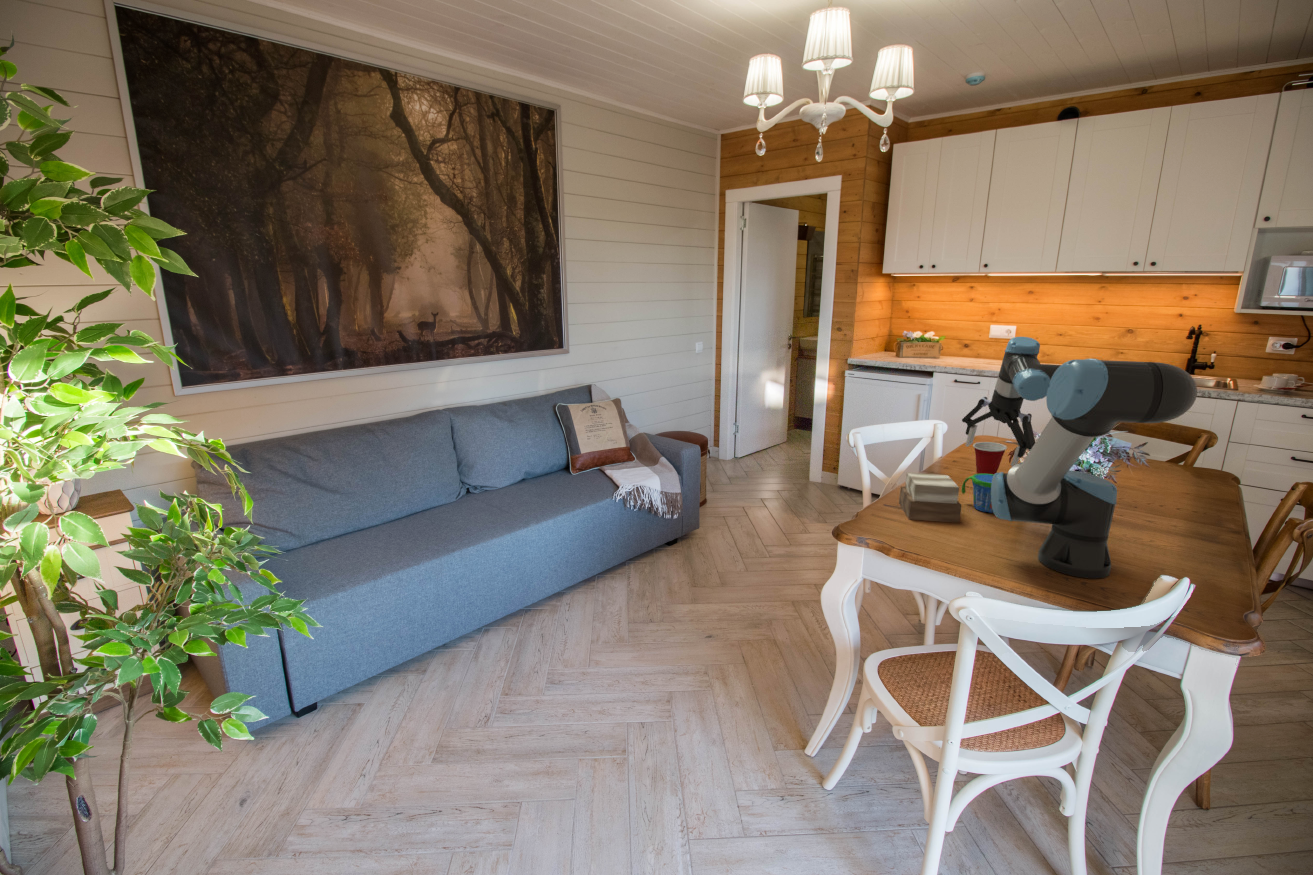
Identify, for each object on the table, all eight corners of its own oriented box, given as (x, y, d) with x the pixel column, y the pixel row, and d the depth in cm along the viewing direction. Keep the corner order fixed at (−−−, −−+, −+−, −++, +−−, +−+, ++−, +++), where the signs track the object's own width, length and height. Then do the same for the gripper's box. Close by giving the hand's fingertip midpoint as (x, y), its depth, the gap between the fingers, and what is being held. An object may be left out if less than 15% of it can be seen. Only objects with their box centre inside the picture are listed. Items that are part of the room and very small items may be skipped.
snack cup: (953, 505, 196) (958, 474, 193) (969, 499, 202) (973, 469, 200) (1005, 520, 184) (1011, 488, 181) (1020, 513, 190) (1025, 481, 188)
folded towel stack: (959, 522, 182) (964, 488, 179) (908, 519, 184) (913, 485, 181) (945, 506, 195) (950, 474, 192) (898, 502, 197) (902, 471, 195)
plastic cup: (961, 473, 229) (966, 442, 226) (985, 471, 232) (990, 440, 229) (984, 482, 219) (990, 449, 216) (1009, 480, 222) (1014, 447, 219)
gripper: (1063, 403, 164) (1040, 467, 176) (973, 371, 181) (958, 431, 193) (1050, 414, 161) (1027, 478, 173) (959, 380, 177) (944, 441, 189)
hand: (990, 454), depth 183 cm, fingers open, 13 cm apart
